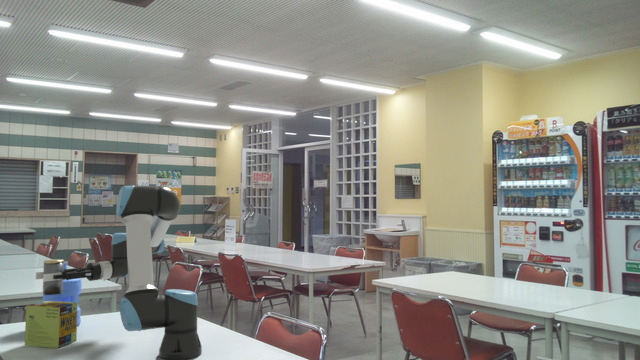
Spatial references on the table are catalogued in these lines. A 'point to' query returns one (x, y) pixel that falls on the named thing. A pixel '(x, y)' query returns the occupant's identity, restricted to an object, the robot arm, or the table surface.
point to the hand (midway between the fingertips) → (39, 276)
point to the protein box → (51, 324)
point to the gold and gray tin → (55, 285)
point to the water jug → (68, 293)
